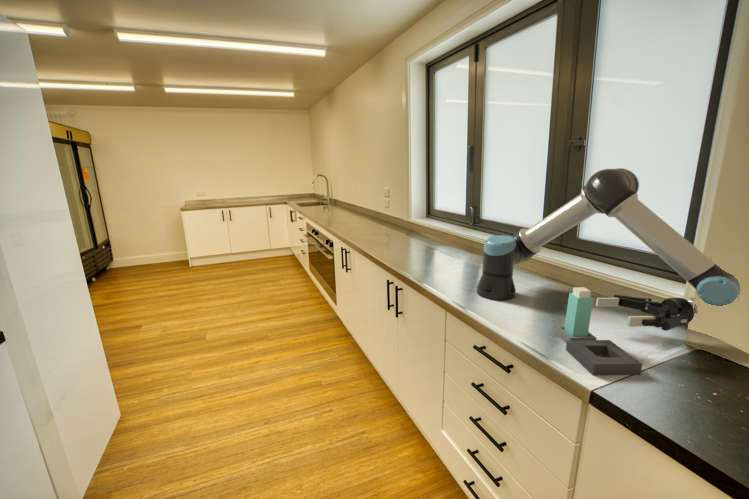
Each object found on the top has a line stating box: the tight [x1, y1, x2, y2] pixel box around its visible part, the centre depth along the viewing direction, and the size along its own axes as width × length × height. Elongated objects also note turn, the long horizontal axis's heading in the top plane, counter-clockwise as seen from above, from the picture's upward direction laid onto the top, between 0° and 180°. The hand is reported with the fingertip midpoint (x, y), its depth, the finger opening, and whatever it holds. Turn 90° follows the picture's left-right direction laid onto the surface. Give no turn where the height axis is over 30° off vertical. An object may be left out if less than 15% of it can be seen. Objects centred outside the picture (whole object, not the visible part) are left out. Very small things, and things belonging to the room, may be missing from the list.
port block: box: [565, 339, 643, 376], centre depth 91 cm, size 12×12×3 cm
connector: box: [564, 286, 594, 337], centre depth 101 cm, size 4×4×16 cm
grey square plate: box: [555, 325, 597, 345], centre depth 102 cm, size 8×8×2 cm
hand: (611, 311), depth 101 cm, fingers open, 13 cm apart
